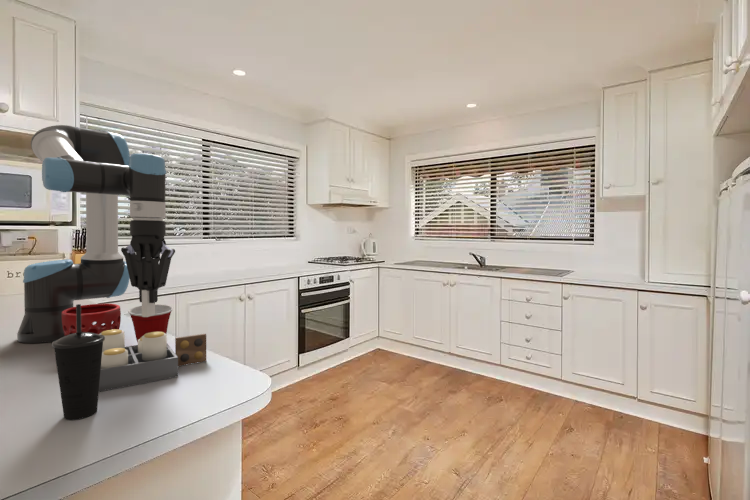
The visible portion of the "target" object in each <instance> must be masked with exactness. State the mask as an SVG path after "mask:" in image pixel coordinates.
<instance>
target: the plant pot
mask: <svg viewBox="0 0 750 500" xmlns="http://www.w3.org/2000/svg"><path fill="white" fill-rule="evenodd" d="M121 312H122V311H121V306H120V305H119V304H115V303H93V304H92V303H91V304H84V305H83V304H81V332H91V333H96V334H100V333H101V332H103V331H106V330H114V329H119V330H120V327H121V321H122V318H121V316H122V313H121ZM94 323H95V324H94ZM62 325H63V331H64V334H65V336H66V335H69V334H72V333H77V323H76V306H73V307H72V308H68V309H66V310H64V311H62Z"/></svg>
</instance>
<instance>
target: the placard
mask: <svg viewBox="0 0 750 500" xmlns="http://www.w3.org/2000/svg"><path fill="white" fill-rule="evenodd" d="M174 340H175V341H174V343H175V344H174V345H175V346H174V347H175V349H174V353H175V354H176V355H177V357H178V367H181V366H182V365H183V366H187V365H186V364H188V365H192V364H191V363H194V364H198V363H197V362H200V363H204V362H203V361H205V362H207V333H199V334H191V335H184V336H176V337H175V339H174Z"/></svg>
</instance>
